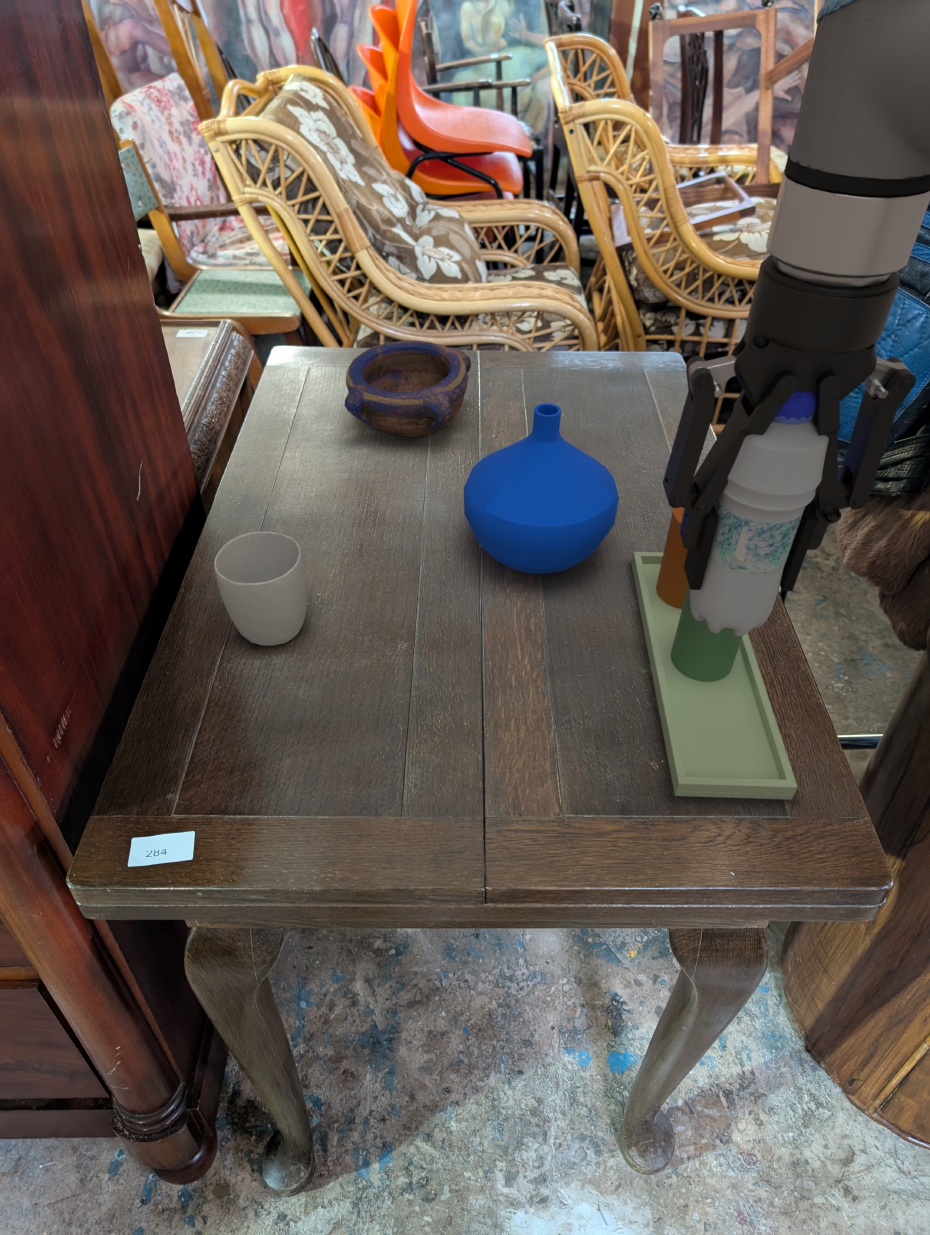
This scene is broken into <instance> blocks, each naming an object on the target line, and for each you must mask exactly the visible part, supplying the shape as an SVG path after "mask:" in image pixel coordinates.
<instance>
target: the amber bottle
mask: <svg viewBox="0 0 930 1235" xmlns="http://www.w3.org/2000/svg"><path fill="white" fill-rule="evenodd" d="M684 509H685V508H683V507H680V508H672V512H671V516H670V517H671V518H670V521H669V527H668V531H667V535H666V539H665V545H664V549H663V552H664V553H663V558H662V562H661V567H660V571H659V576H658V580H657V585H656V591H657V594H658V595H659V597H660V598H661V599H662V600H663V601H664V602H665V603H667V604H669V605H671V606H673V607H676V608H679V609H682V607H683V603H684V599H685V595H686V592H687V588H688V584H689V583H688V580H687V577H686V573H685V570H684V564H685V560H686V556H687V552H688V549H684V546H683V542H682V539H681V536H680V532H679V531H680V527H681V522H682V518H683V513H684Z"/></svg>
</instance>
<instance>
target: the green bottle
mask: <svg viewBox="0 0 930 1235" xmlns="http://www.w3.org/2000/svg"><path fill="white" fill-rule="evenodd" d="M732 629H733V628H723V629H721V631H720V632H719V633H714V632H711V631H710V630H709V628H708V623H707V621H706V619H705V620H703V621H698V620H696V619H695V618H694V616H693V615H692V612H691V606H690V587H689V584H688V588H687V592H686V595H685V599H684V603H683V607H682V611H681V615H680V619H679V623H678V627H677V631H676V634H675V638H674V642H673V646H672V650H671V660H672V663H673V664H674V666H675V667H676V668H677V670H678V671H680V672H681V673H682V674H684V675H685V676H687V677H689V678H692V679H694V680H698V681H705V682H711V681H717V680H720V679H723V678H724V677H726V676H727V675H728V674H729V673H730V671H731V669H732V666H733V663H734V660H735V658H736V655H737V652H738V649H739V646H740V643H741V640H742V637H743V636H735V635H734V634H733V633H732Z"/></svg>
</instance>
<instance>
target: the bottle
mask: <svg viewBox="0 0 930 1235" xmlns="http://www.w3.org/2000/svg"><path fill="white" fill-rule="evenodd" d="M816 403H817V399H816V397H815V395H814V394H813V393H810V392H805V391H796V392H793V394H792V396H791V397H790V399H789V400H788V401H787V402H785V403H784V404H783V406H782V407H781V409H780V410H779V412H778V413H777V415H776V416H775V418H774V420H773V421H772V423H771V424H770V426H769V427H768V429H767V430H766V432H765V433H764V434H763V435H756V434H751V435H748V436H747V437H746V438H745V439H744V441H743V444H742V446H741V448H740V451H739V453H738V456H737V458H736V460H735V463H734V465H733V467H732V469H731V472H730V473H729V475H728V484H727V485H726V487H725V488H724V490H723V491H722V493H721V495H720V496H719V498H718V499H717V501H716V502H715V504H714V506H715V508H716V511H717V514H718V517H719V521H718V525H717V529H716V533H715V537H714V540H713V544H712V548H711V552H710V556H709V559H708V563H707V567H706V571H705V575H704V578H703V582H702V586H701V590H690V606H691V612H692V615H693V616H694V618H695V619H696V620H698V621H703V620H705V619H706V621H707V623H708V628H709V630H710V631H711V632H714V633H719V632H720V631H721V629H723V628H733V629H732V633H733V634H734V635H735V636H743V635H745V634H747V633H748V634H749V632H750V631H751V630H753V629H755V630H756V629H759V628H760V627H762V626H763V625H764V624H765V623H766V622H767V620H768V619H769V617H770V615H771V614H772V611H773V609H774V605H775V603H776V600H777V597H778V594H779V589H780V581H781V577H782V573H783V569H784V565H785V562H786V560H787V557H788V554H789V552H790V549H791V546H792V543H793V540H794V537H795V534H796V532H797V529H798V526H799V523H800V520H801V517H802V514H803V511H804V508H805V506H806V505H808V504H809V503H810V502H811V501H812V499H813V498H814V496H815V492H816V488H817V486H818V485H819V484H820V482H821V480H822V472H823V465H824V460H825V455H826V450H827V445H828V440H829V439H828V437H827V436H826V435H821V436H819V434H818V431H817V429H816V426H815V424H814V422H813V421H810V420H812V417H813V415H812V414H813V413H814V410H815V407H816Z"/></svg>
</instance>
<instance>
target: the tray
mask: <svg viewBox="0 0 930 1235" xmlns="http://www.w3.org/2000/svg"><path fill="white" fill-rule="evenodd" d="M663 553H664V551H661V552H660V551H659V552H658V551H657V552H656V551H633V553H632V559H631V564H630V566H631V570H632V575H633V576H632V577H633V581H634V587H635V592H636V597H637V602H638V608H639V613H640V618H641V624H642V630H643V633H644V640H645V644H646V650H647V655H648V659H649V660H648V661H649V666H650V670H651V671H650V672H651V676H652V681H653V687H654V692H655V697H656V704H657V707H658V714H659V718H660V725H661V730H662V735H663V741H664V747H665V751H666V758H667V761H668V767H669V772H670V778H671V783H672V789H673V794H674V796H675V797H692V798H696V797H697V798H721V799H724V798H725V799H727V798H728V799H757V800H759V799H760V800H788V801H791V800H793V798H794V795H795V793H796V792H797V790H798V784H797V780H796V778H795V775H794V772H793V769H792V765H791V762H790V760H789V756H788V753H787V750H786V747H785V744H784V741H783V738H782V735H781V731H780V728H779V726H778V722H777V719H776V716H775V714H774V710H773V706H772V703H771V701H770V698H769V695H768V690H767V688H766V686H765V682H764V680H763V677H762V676H763V675H762V673H761V670H760V667H759V664H758V661H757V658H756V655H755V652H754V648H753V646H752V642H751V639H750V636H749V632H748V633H747V634H745V635H743V637H742V640H741V643H740V646H739V649H738V652H737V655H736V658H735V660H734V663H733V666H732V669H731V671H730V673H729V674H728V675H727V676H726V677H724V678H723V679H720V680H717V681H711V682H705V681H698V680H694V679H692V678H689V677H687V676H685V675H684V674H682V673H681V672H680V671H678V670H677V668H676V667H675V666H674V664H673V663H672V660H671V650H672V646H673V642H674V638H675V634H676V631H677V627H678V623H679V619H680V615H681V611H682V609H679V608H676V607H673V606H671V605H669V604H667V603H665V602H664V601H663V600H662V599H661V598H660V597H659V595H658V594H657V591H656V585H657V580H658V576H659V571H660V567H661V562H662V558H663Z"/></svg>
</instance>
